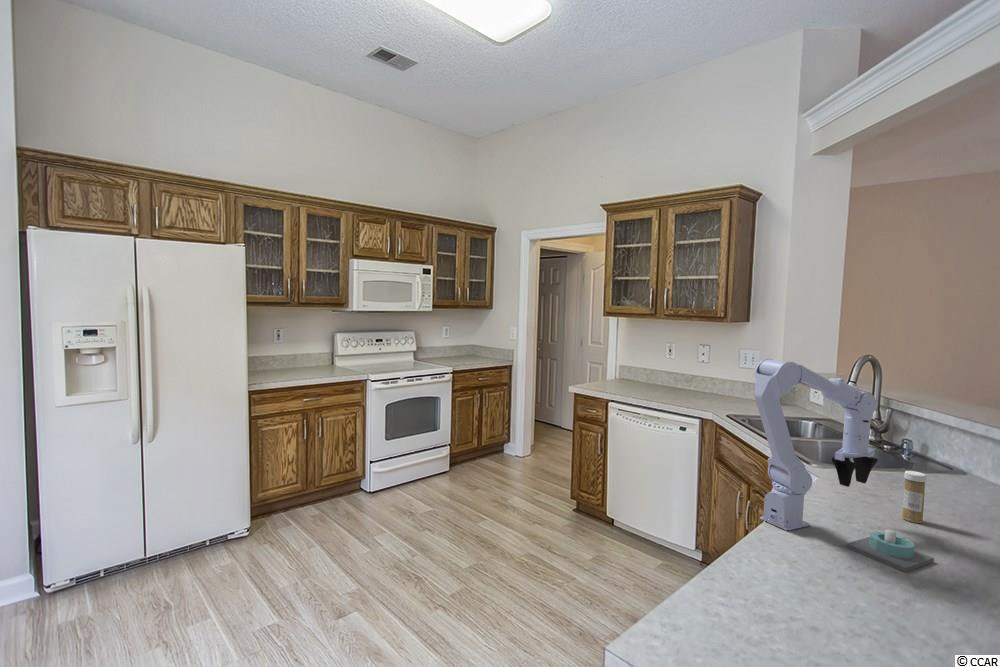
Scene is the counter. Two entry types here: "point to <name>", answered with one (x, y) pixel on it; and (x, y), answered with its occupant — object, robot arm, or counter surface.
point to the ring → (892, 545)
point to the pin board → (898, 563)
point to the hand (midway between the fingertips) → (852, 483)
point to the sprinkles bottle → (914, 496)
